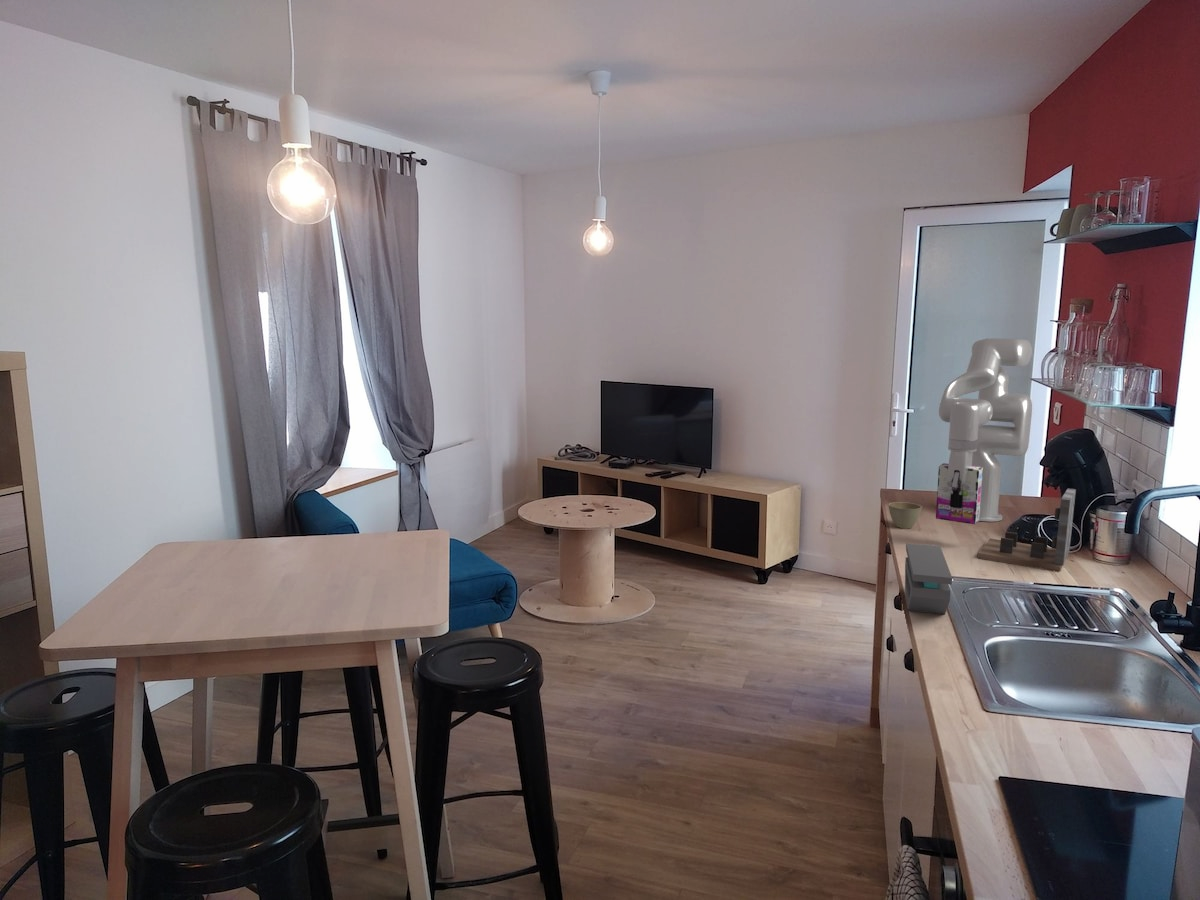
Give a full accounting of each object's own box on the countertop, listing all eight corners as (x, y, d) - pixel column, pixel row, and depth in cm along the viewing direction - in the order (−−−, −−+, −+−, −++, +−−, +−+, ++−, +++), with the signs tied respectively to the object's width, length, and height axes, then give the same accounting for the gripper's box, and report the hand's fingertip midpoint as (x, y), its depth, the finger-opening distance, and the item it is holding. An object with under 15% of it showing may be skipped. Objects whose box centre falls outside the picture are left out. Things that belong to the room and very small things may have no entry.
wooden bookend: (989, 543, 229) (995, 479, 226) (1069, 555, 217) (1076, 488, 213) (977, 558, 214) (983, 490, 211) (1062, 572, 202) (1069, 500, 199)
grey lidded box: (948, 625, 167) (952, 578, 165) (910, 621, 170) (913, 574, 168) (937, 588, 191) (940, 546, 189) (903, 584, 193) (906, 543, 191)
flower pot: (914, 523, 252) (916, 502, 250) (924, 531, 242) (926, 509, 241) (883, 522, 253) (885, 501, 251) (892, 530, 243) (893, 508, 242)
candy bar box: (979, 521, 224) (984, 466, 221) (975, 525, 220) (979, 469, 217) (939, 514, 231) (943, 462, 228) (934, 518, 227) (938, 465, 224)
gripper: (955, 439, 230) (951, 497, 234) (941, 448, 217) (937, 510, 220) (982, 441, 226) (977, 500, 229) (970, 451, 213) (965, 513, 216)
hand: (958, 504), depth 225 cm, fingers closed on candy bar box, 5 cm apart
